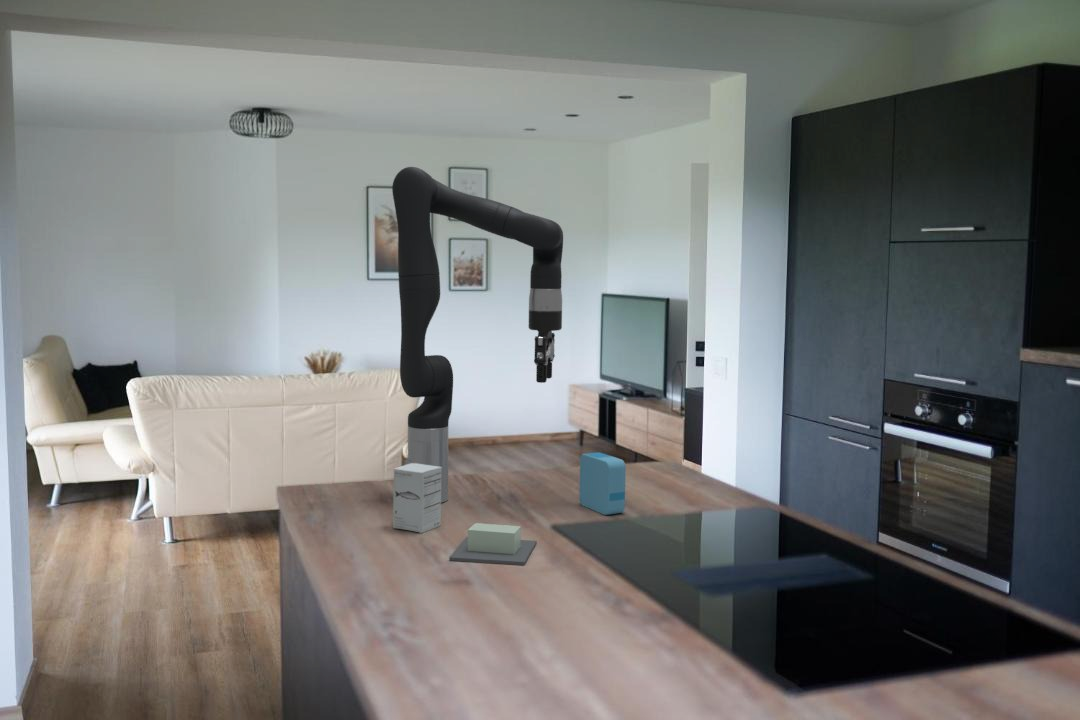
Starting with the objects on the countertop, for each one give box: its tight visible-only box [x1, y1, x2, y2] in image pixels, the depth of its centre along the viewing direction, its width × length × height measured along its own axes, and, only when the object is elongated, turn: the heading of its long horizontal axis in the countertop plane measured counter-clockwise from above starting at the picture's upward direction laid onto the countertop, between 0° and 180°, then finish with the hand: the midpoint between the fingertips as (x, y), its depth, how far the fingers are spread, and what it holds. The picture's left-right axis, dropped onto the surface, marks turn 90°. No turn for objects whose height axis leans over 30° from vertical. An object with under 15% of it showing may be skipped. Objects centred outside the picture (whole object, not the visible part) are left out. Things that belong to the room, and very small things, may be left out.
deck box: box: [467, 522, 522, 554], centre depth 187 cm, size 5×9×4 cm, turn 78°
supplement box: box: [392, 463, 442, 534], centre depth 203 cm, size 7×7×13 cm
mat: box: [448, 536, 537, 566], centre depth 187 cm, size 14×14×1 cm
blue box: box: [578, 452, 627, 516], centre depth 220 cm, size 12×4×12 cm, turn 30°
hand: (544, 380), depth 224 cm, fingers open, 8 cm apart
